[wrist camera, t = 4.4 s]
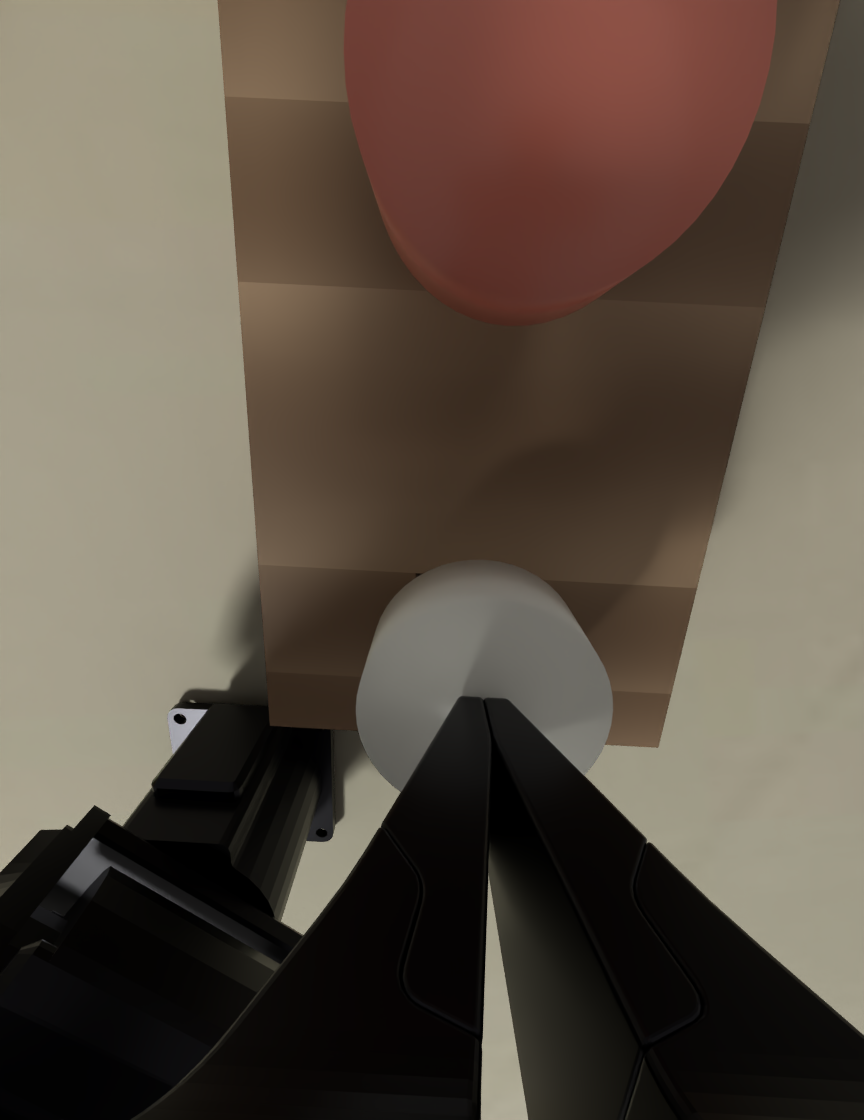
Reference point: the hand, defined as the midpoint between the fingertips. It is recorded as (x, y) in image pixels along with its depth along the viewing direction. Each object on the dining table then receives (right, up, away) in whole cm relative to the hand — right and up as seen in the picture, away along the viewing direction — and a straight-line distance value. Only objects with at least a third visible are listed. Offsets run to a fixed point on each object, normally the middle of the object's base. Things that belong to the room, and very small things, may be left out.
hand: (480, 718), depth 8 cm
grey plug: (0, +2, +7) cm, 8 cm away
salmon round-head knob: (+1, +10, +4) cm, 11 cm away
